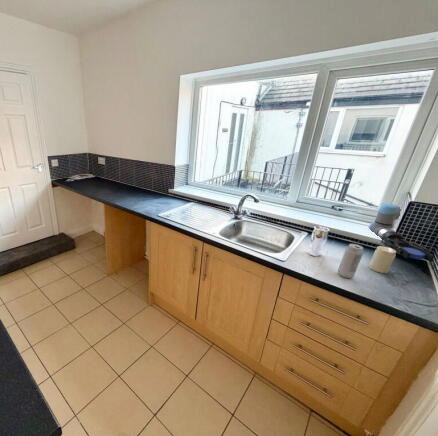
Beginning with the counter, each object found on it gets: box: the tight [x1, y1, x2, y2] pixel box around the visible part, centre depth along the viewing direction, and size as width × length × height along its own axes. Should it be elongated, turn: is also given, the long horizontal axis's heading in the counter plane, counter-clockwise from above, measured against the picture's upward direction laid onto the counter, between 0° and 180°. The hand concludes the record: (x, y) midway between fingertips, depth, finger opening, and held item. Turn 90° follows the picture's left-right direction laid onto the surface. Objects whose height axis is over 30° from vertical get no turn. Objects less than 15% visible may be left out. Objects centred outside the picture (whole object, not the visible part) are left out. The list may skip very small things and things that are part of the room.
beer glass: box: [307, 225, 331, 257], centre depth 128 cm, size 7×7×15 cm
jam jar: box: [368, 245, 397, 274], centre depth 115 cm, size 7×7×11 cm
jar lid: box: [402, 246, 426, 260], centre depth 115 cm, size 8×8×2 cm
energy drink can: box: [337, 243, 365, 279], centre depth 109 cm, size 6×6×15 cm
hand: (419, 257), depth 111 cm, fingers closed on jar lid, 8 cm apart
